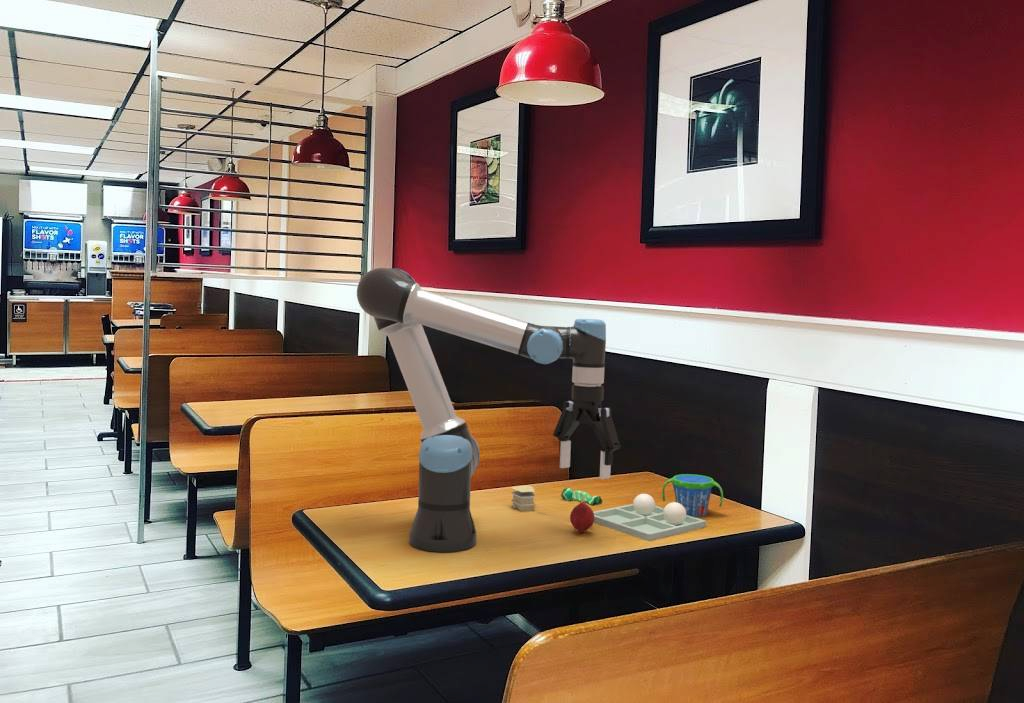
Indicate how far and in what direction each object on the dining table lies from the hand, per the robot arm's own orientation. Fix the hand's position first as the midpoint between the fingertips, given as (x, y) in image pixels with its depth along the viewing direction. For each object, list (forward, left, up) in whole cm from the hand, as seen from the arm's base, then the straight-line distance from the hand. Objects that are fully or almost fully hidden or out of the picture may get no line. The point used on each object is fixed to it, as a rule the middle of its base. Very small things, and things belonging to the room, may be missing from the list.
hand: (584, 472), depth 200 cm
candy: (+19, +20, -15) cm, 32 cm away
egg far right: (+22, -10, -14) cm, 28 cm away
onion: (0, 0, -15) cm, 15 cm away
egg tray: (+17, -5, -15) cm, 23 cm away
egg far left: (+22, 0, -14) cm, 26 cm away
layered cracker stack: (+3, +25, -15) cm, 29 cm away
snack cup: (+35, -5, -15) cm, 38 cm away
